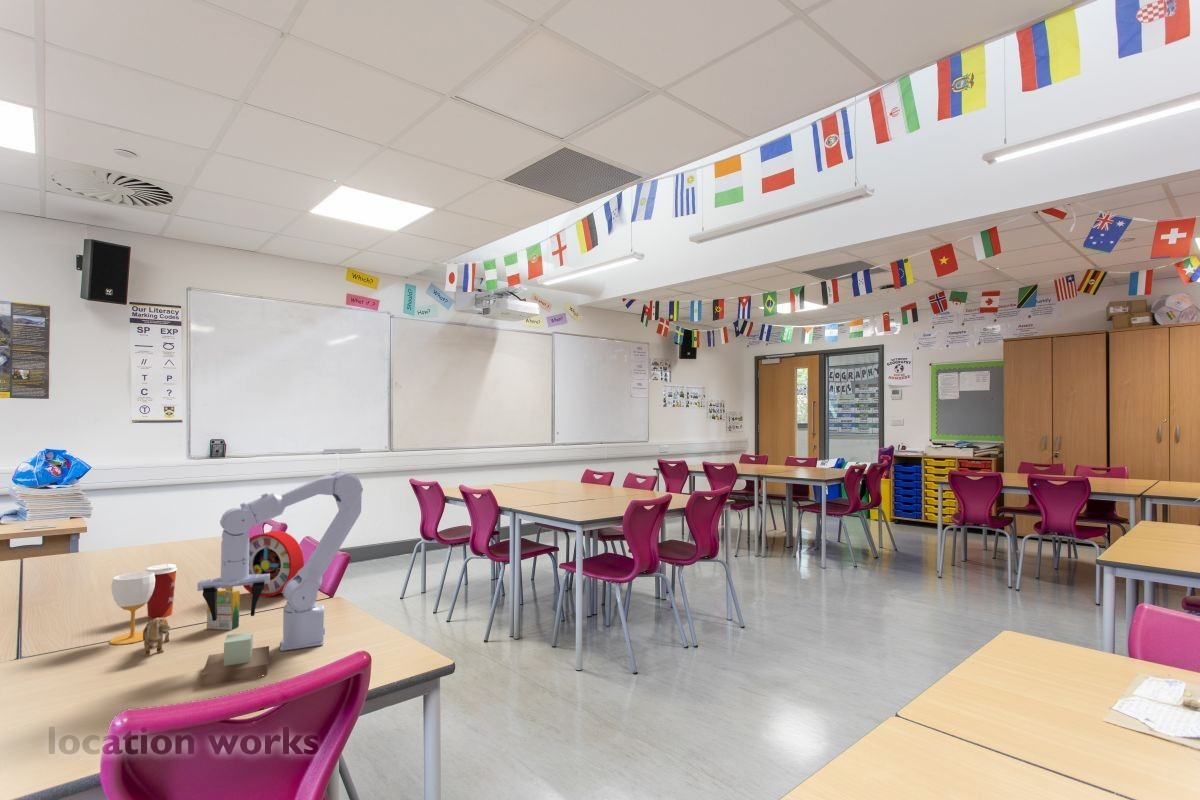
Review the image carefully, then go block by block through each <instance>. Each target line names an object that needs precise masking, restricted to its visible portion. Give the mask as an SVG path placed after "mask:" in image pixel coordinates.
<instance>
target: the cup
mask: <svg viewBox="0 0 1200 800" xmlns="http://www.w3.org/2000/svg"><path fill="white" fill-rule="evenodd" d="M154 587H155V575H154V573H153V572H146V571H134V572H129V573H123V574H119V575H116V576H114V577H113V578H112V581H111V595H112V597H113V601H114V603H115V604H116V605H117V606H118V607H119V608H121V609H122V610H124V611H129V612H130V632H129V633H123V634H121V635H117V636H115V637H113V638H111V639H110V640H109V644H110V645H114V646H115V645H116V646H117V645H118V646H122V645H131V644H136V643H141V642H143V641H144V640H143V630H142V631H141V630H140V631H136V630H135V624H136V611H137V610H138V609H140V608H143V607H144V606H145V605H147V602H148V601H149V599H150V597H151V595H152V593H153V590H154Z"/></svg>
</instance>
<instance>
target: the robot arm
mask: <svg viewBox="0 0 1200 800" xmlns="http://www.w3.org/2000/svg"><path fill="white" fill-rule="evenodd" d="M363 491H364V488H363V485H362V483H361V481H360V479H359V477H358V476H356V475H355V474H353V473H347V472H346V471H336V472H333V473H332V474H326V475H322V476H321V477H318V478H316V479H314V480H311V481H309V482H307V483H305V484H302V485H300V486H298V487H295V488H294V489H291V490H289V491H287V492H284V493H283V494H281V495H280V494H276V493H270V494H268V493H263V494H260V496H261V497H259V498H258V499H255V500H253V501H249V502H248V503H245V502H243V503H240V507H234V508H233V507H232V508H230V509H228V510H225V512H224V514H223V513H222V516H221V518H220V520H219V524H220V526H221V528H222V529H223V530H222V533H221V539H222V540H221V542H220V544H221V546H220V547H221V548H220V549H221V550H220V577H217V578H210V579H205V580H199V581H198V582H197V592H202V597H203V599H204V600H205V602H206V604H207V607H208V606H209V608H210V611H211V615H212V621H216V619H217V591H218V590H219V589H222V588H225V587H233V588H234V587H241V586H242V587H243V585H252V584H253V586H252V593H251V606H250V617H254V616H255V615H256V606H257V604H258V601H259V598H260V597H259V596H260V594H261V592H262V590H263V588H264V585H265V584H268V583H270V574H253V575H249V539H250V537H249V534H250V532H249V530H250V529H251V527H252V526H258V525H260V524H263V523H265V522H267V521H269V520H272V519H274V518H276V517H279V516H280V515H283V512H284V511H285V509H286V508H287V507H289V506H292V505H294V504H296V503H299V502H302V501H305V500H307V499H310V498H312V497H315V496H317V495H323V496H324V495H326V496H332V497H334V499H335V502H336V505H337V508H338V512H337V513H336V515H335V516H334V518H333V520H332V521H331V523H330V524H329V526H328V528H327V529H326V530H325V532H324V534H323V536H322V537H321V539H320V540H319V541H318V543H317V545H316V547H315V548H314V550H313V552H312V553H311V554H310V556H309V558H308V559H307V560H306V562H305V563H304V567H303V568H301V569H300V570H299V571H298V572H297V574H296V575H295V576H294V577H293V578H292V579H291V580H289V581H288V582H287V583H286V584H285V586H284V588H283V592H282V595H283V597H284V599H285V600H286V603H285V605H284V606H283V607H282V609H283V615H282V616H283V617H282V618H283V619H282V639H281V642H280V646H279V647H280V648H279V651H281V652H283V651H288V650H289V651H291V650H296V649H303V648H309V647H316V646H317V647H318V646H322V645H324V636H325V635H326V627H325V626H324V625H325V624H324V622H325V621H324V620H325V616H324V615H325V614H324V613H325V611H324V610H325V605H324V604H320V605H317V604H316V601H317V599H318V598H317V597H318V592H319V589H320V587H321V585H322V582H323V577H324V574H326V573H325V572H326V571H327V570H328V567H329V566H330V564H331V563H332V561H333V560H334V558H335V556H336V554H337V553H338V551H339V550H340V548H341V546H342V545H343V543H344V542H345V539H346V538H347V536H348V535H349V533H350V532H351V530H352V528H353V526H354V525H355V523H356V521H357V520H358V519H359V517H360V515H361V513H362V498H363V497H362V495H363Z"/></svg>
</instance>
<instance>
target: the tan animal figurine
mask: <svg viewBox="0 0 1200 800" xmlns="http://www.w3.org/2000/svg"><path fill="white" fill-rule="evenodd" d="M168 622H169V621H168V619H166V617H163V618H155V619H151V620H149V621H148V623H147V624H146V625H145V627H144V629H143V630H142V631H143V640H144V642H143V644H144V645H143V646H144V653H143V657H147V656H150V655H151V649H150V648H152V647H154V645H155V644H157V646H156V653H158V654H162V653H164V651H165V650H163V643H166V642H170V632H169V630H170V629H171V626H170V625H169V623H168Z"/></svg>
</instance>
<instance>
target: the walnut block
mask: <svg viewBox="0 0 1200 800" xmlns="http://www.w3.org/2000/svg"><path fill="white" fill-rule="evenodd" d="M269 659H270V646H269V645H268V646H267V645H266V646H261V647H254V648H253V647H252V657H251V661H250V662H246V663H240V664H233V665H227V666H224V652H222V653H221V652H220V653H215V654H209V655H208V657H207V660H206V662H205V664H204V667H203V671H202V673H201V688H203V687H204V688H205V687H210V686H217V685H221V684H222V685H223V684H227V683H232V682H239V681H244V680H250V678H251V679H254V678H253V677H256V678H259V677H258V676H262V675H267V676H268V669H269ZM262 677H263V676H262Z"/></svg>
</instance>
